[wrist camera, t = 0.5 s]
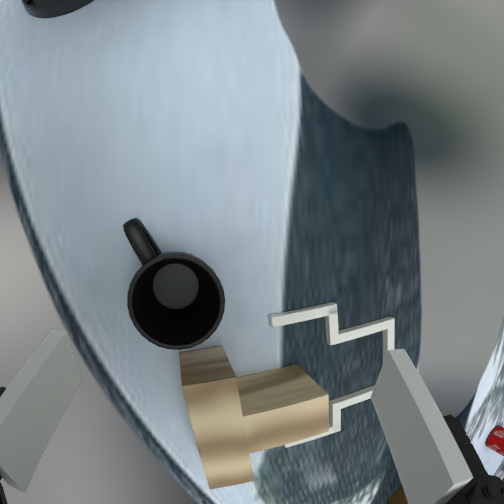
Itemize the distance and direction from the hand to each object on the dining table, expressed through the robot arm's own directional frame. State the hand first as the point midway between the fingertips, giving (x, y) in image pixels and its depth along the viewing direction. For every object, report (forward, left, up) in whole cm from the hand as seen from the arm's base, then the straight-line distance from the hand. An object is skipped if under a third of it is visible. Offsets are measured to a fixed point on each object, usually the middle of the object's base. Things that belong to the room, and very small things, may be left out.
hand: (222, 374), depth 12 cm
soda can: (+53, +64, -24) cm, 87 cm away
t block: (+15, +4, -24) cm, 29 cm away
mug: (-2, -2, -24) cm, 25 cm away
